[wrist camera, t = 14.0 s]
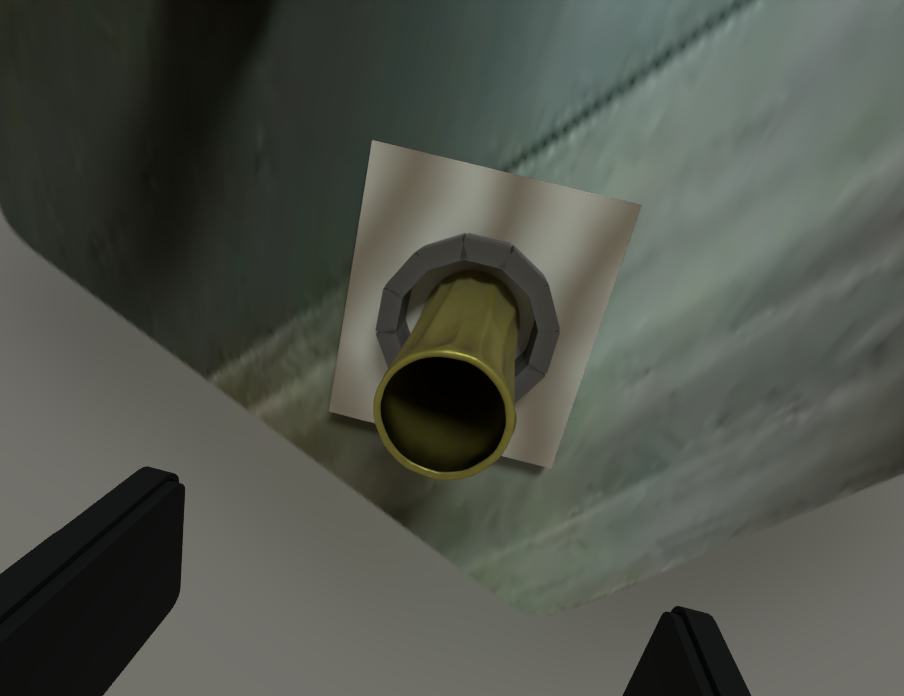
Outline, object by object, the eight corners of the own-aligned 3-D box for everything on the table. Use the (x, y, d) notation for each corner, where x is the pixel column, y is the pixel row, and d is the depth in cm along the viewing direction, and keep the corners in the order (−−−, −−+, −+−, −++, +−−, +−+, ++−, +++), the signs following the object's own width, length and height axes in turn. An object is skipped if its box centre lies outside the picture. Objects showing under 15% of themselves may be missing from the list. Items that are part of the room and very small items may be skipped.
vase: (461, 380, 32) (428, 516, 19) (404, 307, 31) (325, 397, 18) (538, 329, 31) (562, 439, 17) (481, 249, 30) (459, 301, 16)
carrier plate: (635, 204, 29) (657, 206, 25) (549, 457, 35) (555, 494, 31) (378, 142, 30) (357, 134, 25) (335, 402, 36) (312, 431, 31)
